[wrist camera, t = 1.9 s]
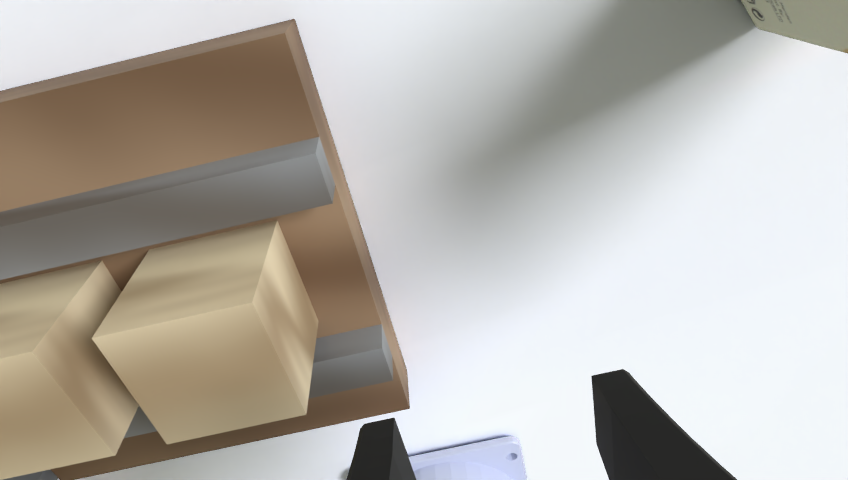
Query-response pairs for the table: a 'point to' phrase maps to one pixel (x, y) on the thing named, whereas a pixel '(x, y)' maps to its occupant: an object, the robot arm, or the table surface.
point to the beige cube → (58, 372)
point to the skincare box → (803, 20)
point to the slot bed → (200, 204)
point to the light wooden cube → (214, 334)
